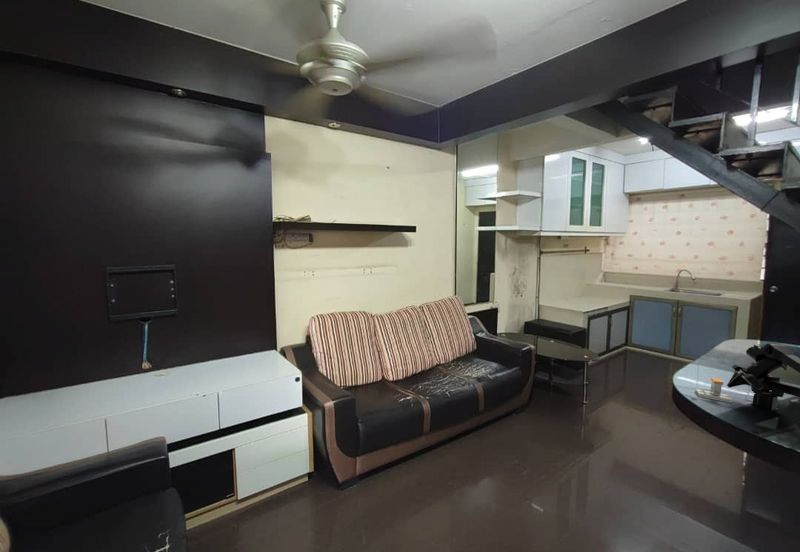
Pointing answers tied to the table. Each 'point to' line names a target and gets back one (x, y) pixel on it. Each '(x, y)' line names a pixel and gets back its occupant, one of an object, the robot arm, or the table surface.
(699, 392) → the block
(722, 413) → the table surface
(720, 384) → the handle
